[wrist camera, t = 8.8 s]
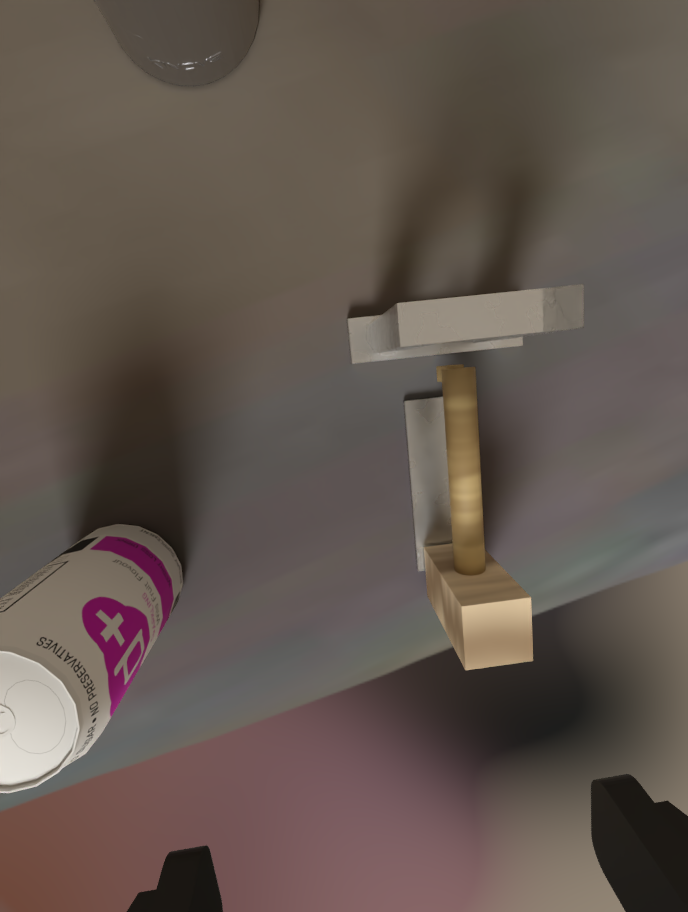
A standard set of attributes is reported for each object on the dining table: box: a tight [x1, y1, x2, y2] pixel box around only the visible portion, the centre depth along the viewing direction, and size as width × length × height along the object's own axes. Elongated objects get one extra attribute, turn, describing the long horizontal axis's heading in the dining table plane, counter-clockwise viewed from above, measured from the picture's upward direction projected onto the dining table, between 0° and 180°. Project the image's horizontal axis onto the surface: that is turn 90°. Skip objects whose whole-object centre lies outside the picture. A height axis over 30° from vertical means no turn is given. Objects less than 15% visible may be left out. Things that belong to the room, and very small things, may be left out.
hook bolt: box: [424, 365, 533, 670], centre depth 30 cm, size 17×4×9 cm, turn 6°
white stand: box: [347, 284, 584, 571], centre depth 29 cm, size 19×12×11 cm, turn 6°
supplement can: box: [0, 524, 183, 793], centre depth 27 cm, size 8×8×15 cm
